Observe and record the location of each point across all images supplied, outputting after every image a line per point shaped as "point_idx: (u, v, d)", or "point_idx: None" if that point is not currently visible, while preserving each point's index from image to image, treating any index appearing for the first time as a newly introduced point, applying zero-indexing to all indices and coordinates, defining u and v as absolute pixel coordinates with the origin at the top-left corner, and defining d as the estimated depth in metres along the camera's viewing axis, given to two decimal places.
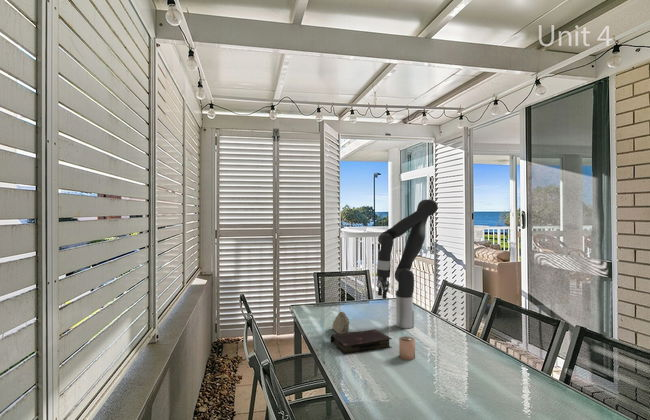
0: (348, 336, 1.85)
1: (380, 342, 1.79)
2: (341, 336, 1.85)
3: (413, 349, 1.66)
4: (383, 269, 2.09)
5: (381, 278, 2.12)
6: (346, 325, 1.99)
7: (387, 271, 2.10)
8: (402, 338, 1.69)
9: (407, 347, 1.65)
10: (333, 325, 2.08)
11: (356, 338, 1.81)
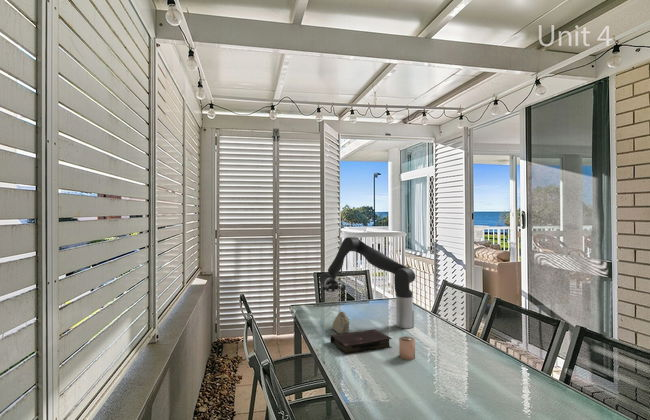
0: (348, 336, 1.84)
1: (380, 342, 1.79)
2: (341, 336, 1.85)
3: (413, 349, 1.66)
4: (325, 286, 2.36)
5: None
6: (346, 325, 1.99)
7: (325, 283, 2.35)
8: (402, 338, 1.69)
9: (407, 347, 1.65)
10: (333, 325, 2.08)
11: (357, 338, 1.81)
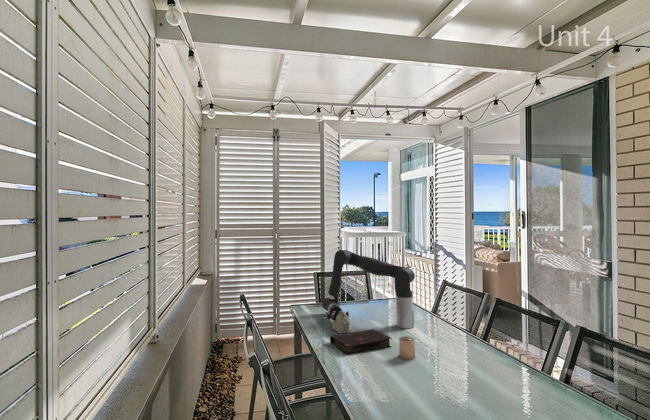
0: (348, 337, 1.84)
1: (381, 342, 1.80)
2: (341, 337, 1.84)
3: (413, 349, 1.66)
4: (329, 313, 2.23)
5: None
6: (347, 325, 2.00)
7: (329, 309, 2.22)
8: (402, 338, 1.69)
9: (407, 347, 1.65)
10: (333, 325, 2.08)
11: (357, 339, 1.81)
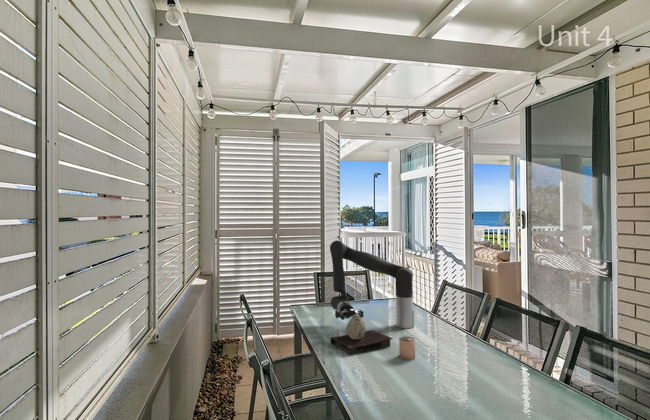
0: (349, 338, 1.83)
1: (382, 342, 1.80)
2: (342, 338, 1.83)
3: (413, 349, 1.66)
4: None
5: None
6: (361, 330, 1.78)
7: (339, 308, 2.00)
8: (402, 338, 1.69)
9: (407, 347, 1.65)
10: None
11: (358, 340, 1.80)
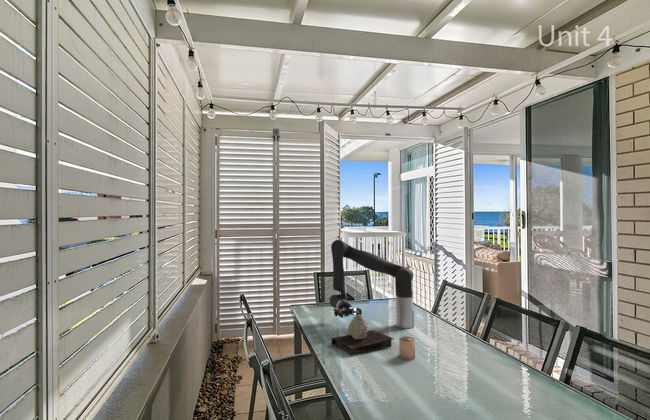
0: (350, 338, 1.83)
1: (383, 343, 1.80)
2: (343, 339, 1.82)
3: (413, 349, 1.66)
4: (337, 310, 2.05)
5: None
6: (364, 330, 1.78)
7: (338, 306, 2.04)
8: (402, 338, 1.69)
9: (407, 347, 1.65)
10: (349, 329, 1.87)
11: (360, 340, 1.80)
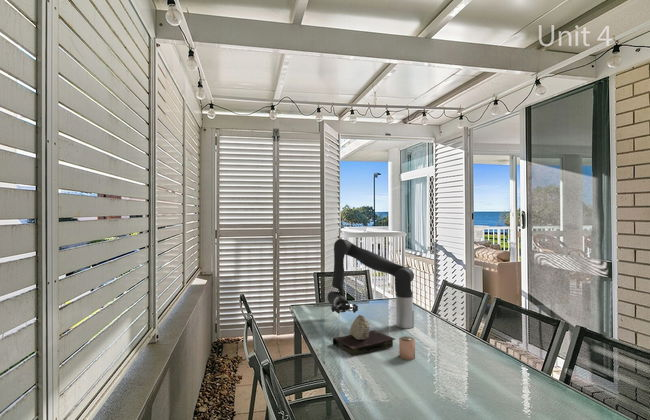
0: (351, 339, 1.82)
1: (384, 343, 1.79)
2: (344, 339, 1.82)
3: (413, 349, 1.66)
4: (335, 306, 2.13)
5: None
6: (366, 330, 1.77)
7: (335, 302, 2.12)
8: (402, 338, 1.69)
9: (407, 347, 1.65)
10: (351, 330, 1.87)
11: (361, 340, 1.79)
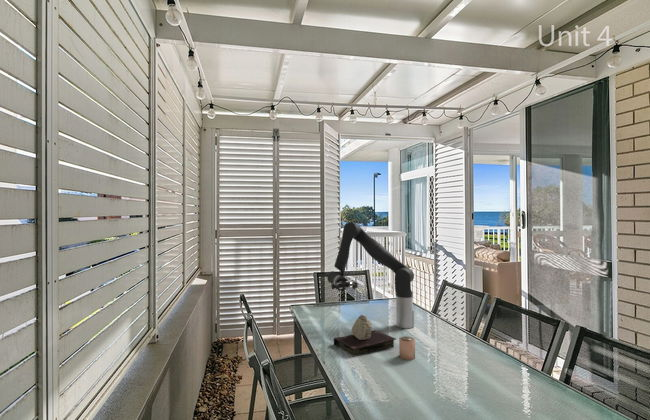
0: (352, 339, 1.82)
1: (385, 343, 1.79)
2: (345, 339, 1.82)
3: (413, 349, 1.66)
4: None
5: None
6: (368, 330, 1.77)
7: (335, 281, 2.13)
8: (402, 338, 1.69)
9: (407, 347, 1.65)
10: (352, 330, 1.86)
11: (362, 340, 1.79)
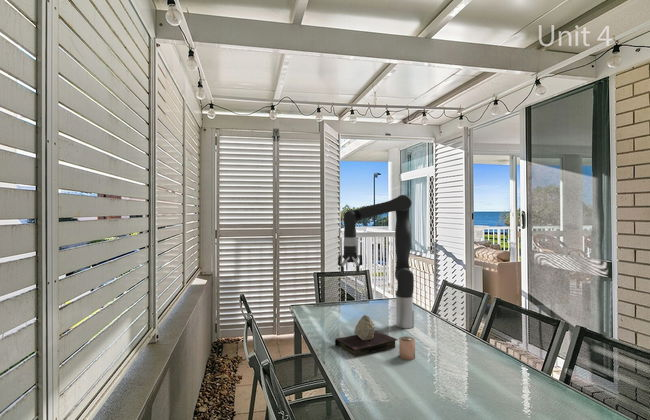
0: (353, 339, 1.81)
1: (387, 344, 1.78)
2: (347, 340, 1.81)
3: (413, 349, 1.66)
4: None
5: None
6: (371, 330, 1.77)
7: (344, 247, 2.17)
8: (402, 338, 1.69)
9: (407, 347, 1.65)
10: (356, 330, 1.86)
11: (363, 341, 1.78)
